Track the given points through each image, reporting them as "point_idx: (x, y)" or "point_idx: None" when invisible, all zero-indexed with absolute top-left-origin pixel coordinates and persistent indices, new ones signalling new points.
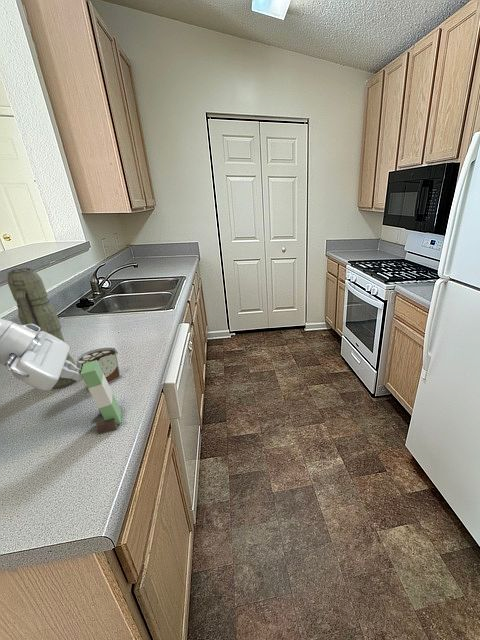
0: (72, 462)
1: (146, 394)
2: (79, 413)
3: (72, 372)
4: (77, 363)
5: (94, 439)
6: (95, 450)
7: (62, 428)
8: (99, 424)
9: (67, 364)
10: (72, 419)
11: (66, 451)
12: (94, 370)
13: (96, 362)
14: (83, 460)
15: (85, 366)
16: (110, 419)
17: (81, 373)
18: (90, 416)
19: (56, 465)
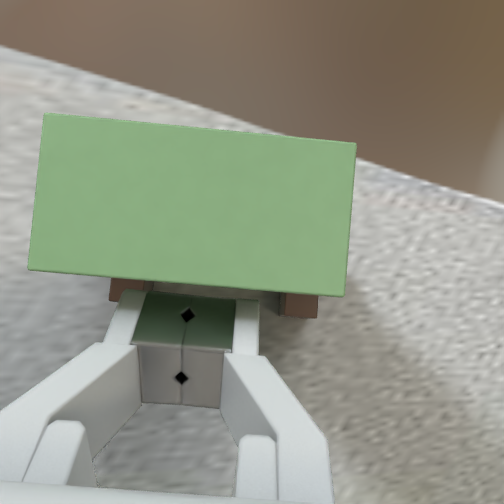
0: (462, 422)
1: (66, 89)
2: None
3: (284, 385)
4: None
5: (340, 337)
6: (424, 335)
7: (164, 478)
8: (312, 302)
9: (80, 453)
10: None
11: (371, 449)
12: (354, 149)
13: (116, 120)
14: (469, 380)
15: (147, 245)
16: None
17: (329, 289)
18: None
19: (452, 483)
